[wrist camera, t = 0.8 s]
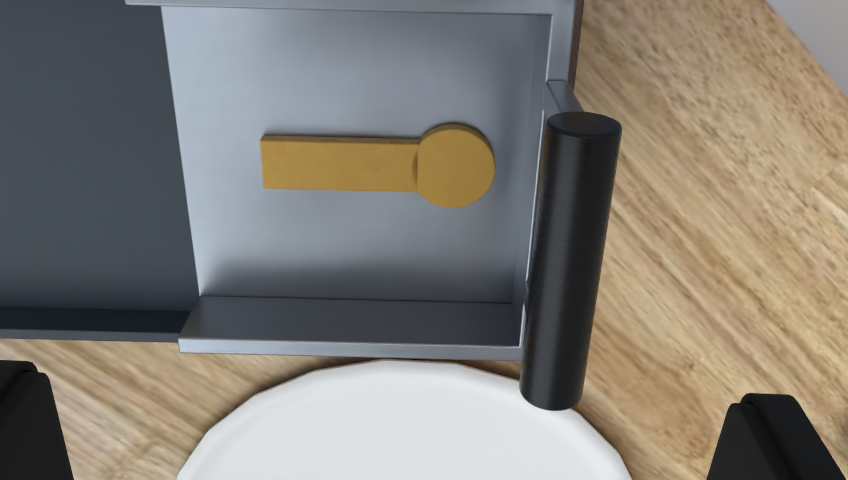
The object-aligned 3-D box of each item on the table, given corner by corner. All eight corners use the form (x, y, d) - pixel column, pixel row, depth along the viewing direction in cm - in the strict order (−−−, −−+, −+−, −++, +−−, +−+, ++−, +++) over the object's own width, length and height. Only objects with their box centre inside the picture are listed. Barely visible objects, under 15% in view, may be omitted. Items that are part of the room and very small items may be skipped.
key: (261, 118, 23) (257, 124, 22) (497, 124, 23) (498, 130, 22) (267, 197, 24) (264, 204, 24) (491, 202, 24) (492, 209, 24)
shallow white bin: (205, 300, 27) (125, 462, 20) (160, -38, 21) (30, 21, 14) (539, 308, 27) (577, 473, 20) (577, -27, 21) (646, 36, 14)
